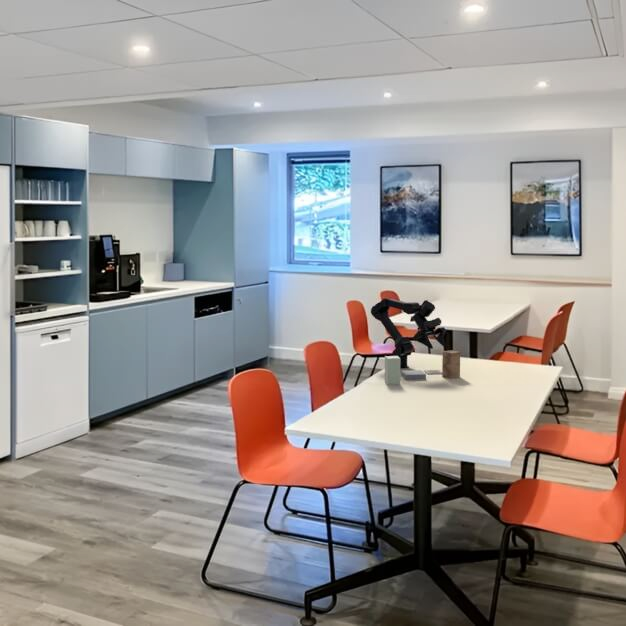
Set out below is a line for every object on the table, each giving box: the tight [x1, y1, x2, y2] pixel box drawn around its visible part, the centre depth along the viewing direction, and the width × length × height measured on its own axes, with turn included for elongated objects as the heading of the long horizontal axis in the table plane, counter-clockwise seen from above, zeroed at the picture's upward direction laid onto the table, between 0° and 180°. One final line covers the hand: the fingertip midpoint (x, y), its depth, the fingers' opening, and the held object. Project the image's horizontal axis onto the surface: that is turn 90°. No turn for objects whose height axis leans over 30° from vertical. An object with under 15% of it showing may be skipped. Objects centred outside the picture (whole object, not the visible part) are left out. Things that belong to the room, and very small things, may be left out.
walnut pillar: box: [441, 349, 461, 379], centre depth 364 cm, size 6×6×12 cm
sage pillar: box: [384, 355, 401, 386], centre depth 351 cm, size 6×6×12 cm
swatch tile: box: [423, 369, 442, 375], centre depth 376 cm, size 8×8×1 cm
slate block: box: [400, 369, 427, 381], centre depth 364 cm, size 10×10×3 cm
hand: (438, 347), depth 370 cm, fingers open, 9 cm apart
